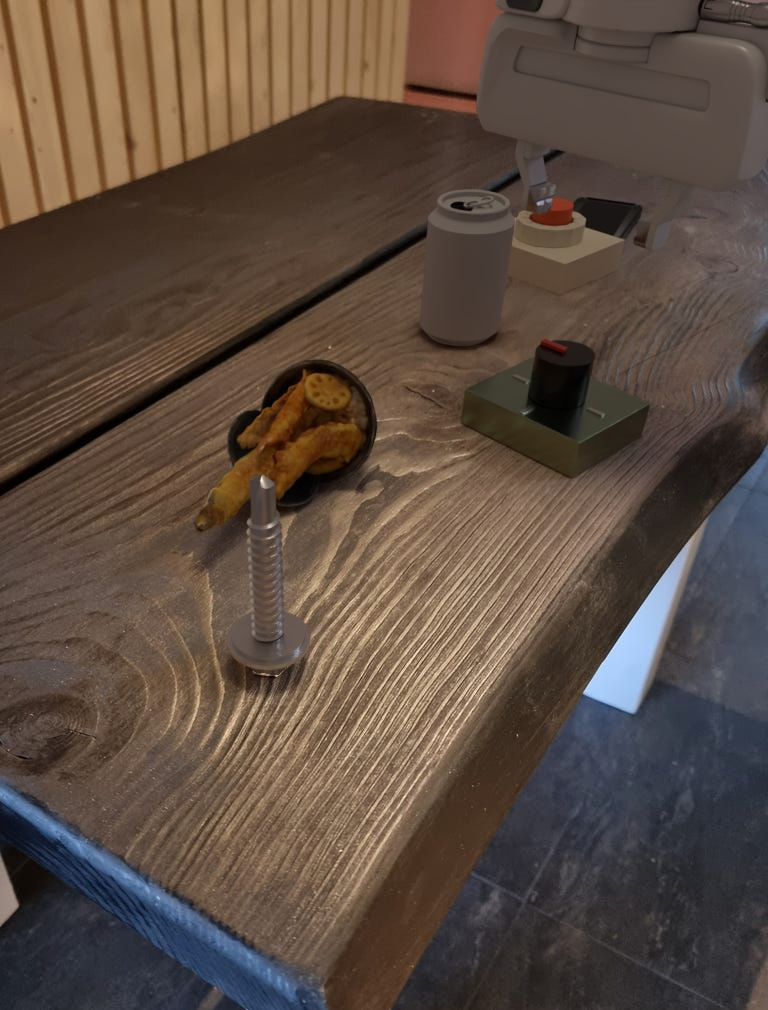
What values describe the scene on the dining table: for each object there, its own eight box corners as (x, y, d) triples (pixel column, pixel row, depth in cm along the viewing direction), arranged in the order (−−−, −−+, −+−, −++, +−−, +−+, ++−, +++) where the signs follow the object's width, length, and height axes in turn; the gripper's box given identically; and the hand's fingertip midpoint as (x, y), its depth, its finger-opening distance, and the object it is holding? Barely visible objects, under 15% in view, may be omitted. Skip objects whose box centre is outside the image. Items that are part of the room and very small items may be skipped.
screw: (303, 696, 52) (220, 687, 53) (315, 639, 56) (237, 631, 57) (302, 505, 44) (203, 497, 44) (317, 452, 47) (225, 445, 48)
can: (411, 318, 90) (422, 186, 82) (487, 314, 90) (505, 183, 82) (426, 352, 84) (439, 214, 76) (507, 348, 85) (528, 211, 77)
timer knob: (597, 396, 72) (608, 349, 69) (562, 414, 70) (572, 367, 67) (551, 376, 74) (560, 330, 72) (516, 393, 72) (524, 347, 69)
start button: (578, 221, 96) (581, 204, 94) (554, 231, 94) (557, 213, 93) (547, 212, 98) (550, 194, 97) (523, 221, 96) (526, 203, 95)
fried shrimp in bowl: (417, 393, 69) (351, 435, 53) (344, 512, 74) (266, 583, 59) (315, 327, 70) (221, 350, 54) (251, 450, 75) (148, 503, 59)
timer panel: (641, 437, 73) (651, 400, 71) (571, 478, 69) (579, 441, 66) (531, 387, 79) (537, 352, 77) (460, 422, 75) (464, 387, 73)
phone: (644, 204, 109) (615, 245, 100) (642, 214, 110) (613, 256, 100) (578, 195, 112) (544, 234, 102) (576, 205, 113) (542, 245, 103)
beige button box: (618, 270, 98) (629, 221, 95) (559, 296, 93) (568, 245, 90) (528, 240, 105) (536, 193, 101) (469, 262, 100) (475, 214, 97)
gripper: (838, 1, 50) (752, 259, 60) (539, -37, 62) (506, 184, 71) (779, 15, 47) (698, 284, 57) (476, -28, 59) (451, 202, 68)
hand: (589, 228), depth 64 cm, fingers open, 8 cm apart
